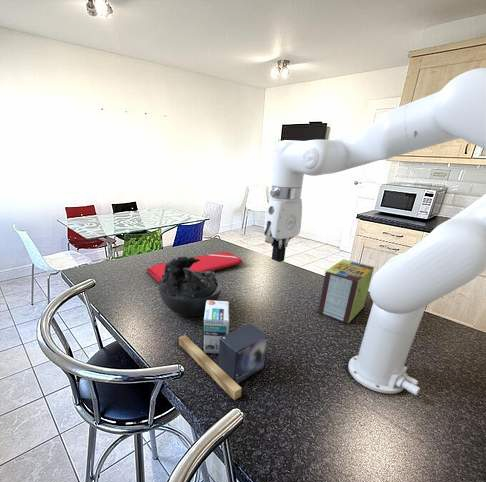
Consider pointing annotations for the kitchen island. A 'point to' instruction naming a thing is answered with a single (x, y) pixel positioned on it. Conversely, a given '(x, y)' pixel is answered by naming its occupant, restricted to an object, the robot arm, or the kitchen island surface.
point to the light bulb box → (215, 324)
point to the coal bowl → (187, 287)
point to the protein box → (345, 290)
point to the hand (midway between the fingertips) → (277, 260)
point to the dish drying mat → (201, 264)
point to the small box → (242, 352)
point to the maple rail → (211, 368)
